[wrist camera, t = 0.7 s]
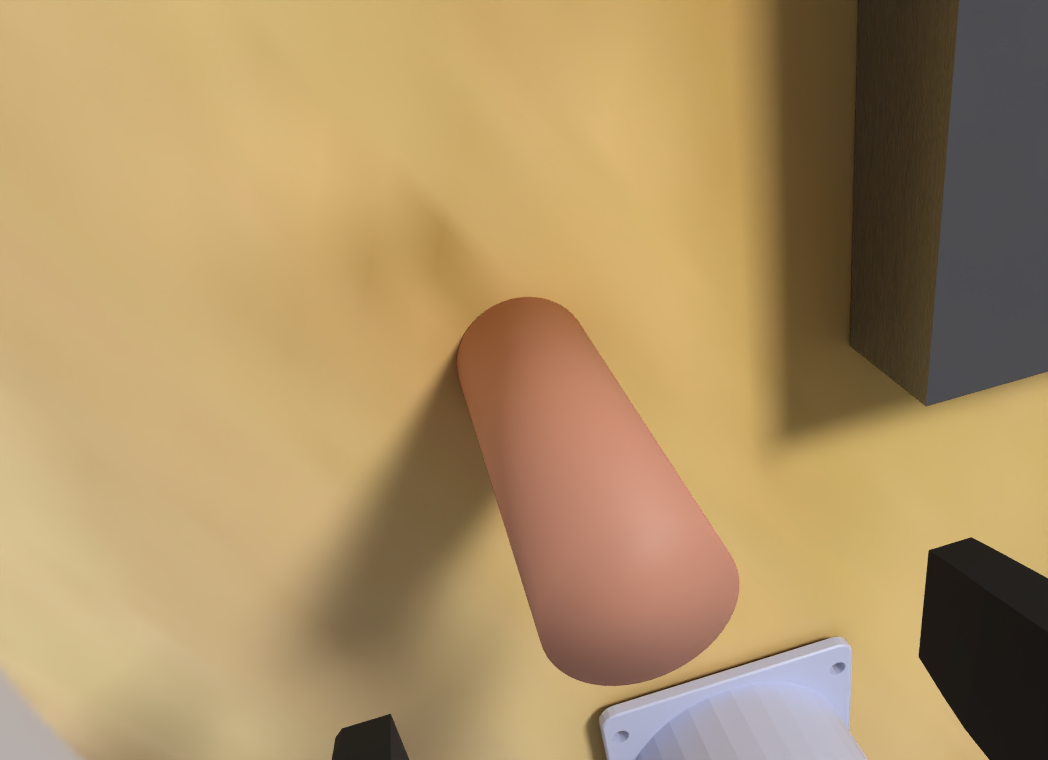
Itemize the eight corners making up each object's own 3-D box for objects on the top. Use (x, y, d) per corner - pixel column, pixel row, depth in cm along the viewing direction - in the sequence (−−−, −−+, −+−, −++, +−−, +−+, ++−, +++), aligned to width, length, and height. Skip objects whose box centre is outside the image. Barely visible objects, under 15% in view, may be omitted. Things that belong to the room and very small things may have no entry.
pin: (595, 397, 20) (744, 651, 13) (471, 430, 19) (556, 708, 13) (576, 282, 18) (734, 501, 11) (443, 316, 18) (521, 563, 11)
